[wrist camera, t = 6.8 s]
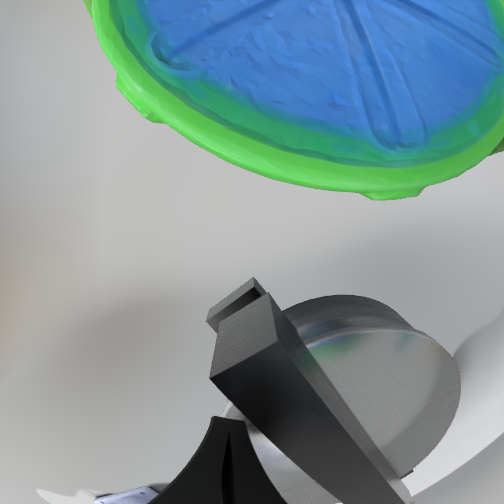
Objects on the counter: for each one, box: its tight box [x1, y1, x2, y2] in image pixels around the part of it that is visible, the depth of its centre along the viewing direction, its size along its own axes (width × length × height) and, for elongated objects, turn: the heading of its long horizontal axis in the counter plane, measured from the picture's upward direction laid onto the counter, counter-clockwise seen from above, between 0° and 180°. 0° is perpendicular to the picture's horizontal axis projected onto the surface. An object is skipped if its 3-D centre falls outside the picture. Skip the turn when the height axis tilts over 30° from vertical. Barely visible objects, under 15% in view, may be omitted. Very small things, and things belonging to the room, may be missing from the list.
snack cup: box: [83, 0, 504, 200], centre depth 9 cm, size 16×10×10 cm
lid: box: [209, 292, 461, 504], centre depth 11 cm, size 18×13×4 cm
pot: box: [206, 277, 414, 479], centre depth 15 cm, size 18×12×4 cm, turn 38°
